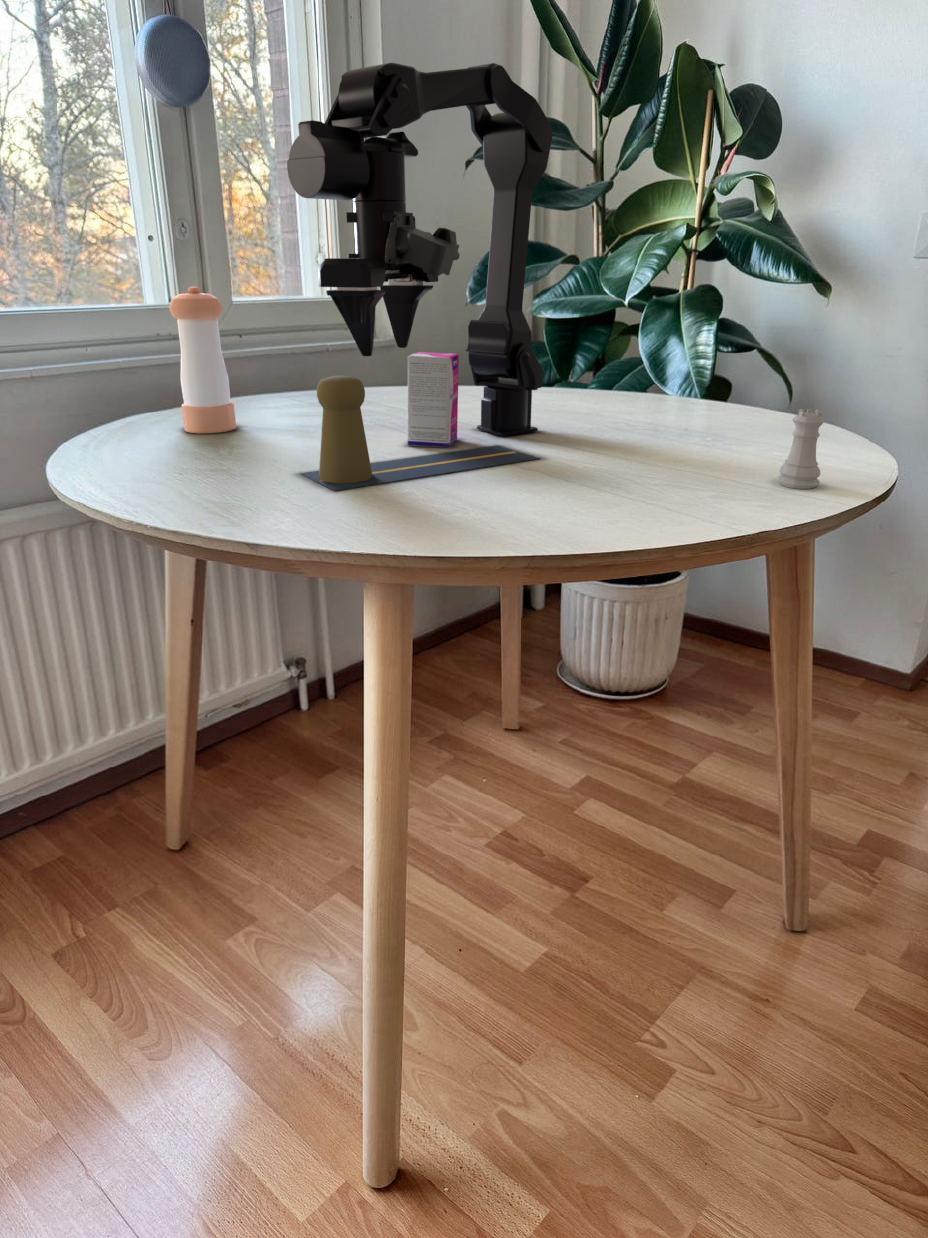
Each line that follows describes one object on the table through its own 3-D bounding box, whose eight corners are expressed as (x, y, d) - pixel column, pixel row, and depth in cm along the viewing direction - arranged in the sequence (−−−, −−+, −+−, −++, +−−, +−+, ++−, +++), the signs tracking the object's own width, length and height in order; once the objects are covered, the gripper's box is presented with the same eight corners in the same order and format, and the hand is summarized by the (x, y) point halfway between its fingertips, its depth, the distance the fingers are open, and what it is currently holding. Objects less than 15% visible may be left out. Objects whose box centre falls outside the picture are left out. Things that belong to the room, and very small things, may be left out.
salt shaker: (233, 432, 118) (218, 287, 110) (180, 434, 117) (160, 287, 109) (238, 423, 124) (223, 285, 117) (188, 424, 123) (170, 285, 116)
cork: (320, 470, 97) (314, 373, 92) (372, 469, 97) (368, 372, 93) (316, 483, 91) (309, 380, 87) (372, 482, 92) (367, 379, 87)
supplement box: (450, 448, 109) (450, 356, 104) (406, 445, 110) (404, 355, 105) (459, 439, 114) (459, 351, 109) (417, 437, 115) (415, 350, 110)
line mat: (497, 445, 110) (497, 445, 110) (540, 458, 103) (540, 457, 103) (300, 474, 96) (300, 473, 96) (334, 491, 89) (334, 490, 89)
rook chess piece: (814, 491, 89) (828, 416, 86) (771, 485, 91) (783, 411, 88) (822, 482, 92) (836, 409, 89) (781, 477, 95) (792, 406, 91)
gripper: (410, 195, 80) (414, 364, 86) (478, 204, 96) (478, 346, 102) (310, 198, 84) (321, 359, 90) (391, 206, 100) (396, 342, 106)
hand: (385, 351), depth 97 cm, fingers open, 9 cm apart
